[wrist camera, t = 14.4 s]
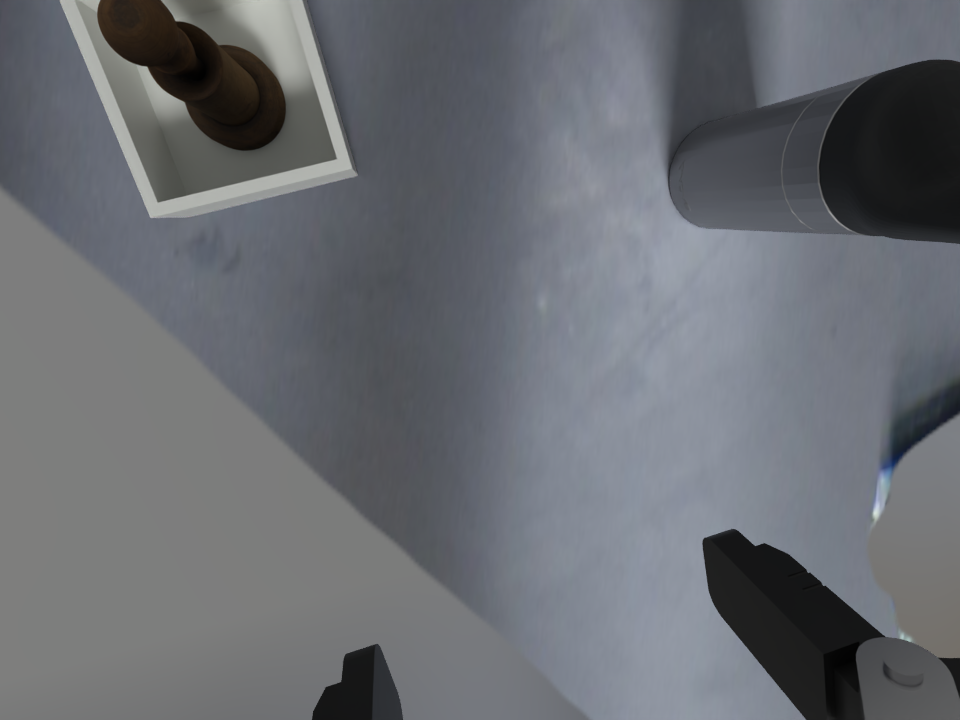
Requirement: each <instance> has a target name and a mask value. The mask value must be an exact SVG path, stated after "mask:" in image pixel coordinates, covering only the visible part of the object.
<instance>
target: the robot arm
mask: <svg viewBox="0 0 960 720" xmlns="http://www.w3.org/2000/svg"><path fill="white" fill-rule="evenodd" d="M669 182H670V192H671V196H672V200H673V202H674V204H675V206H676V209H677V210H678V211H679V212H680V214H681V215H682V216H683V217H684V218H685V219H686V220H687V221H689V222H690V223H692V224H694V225H696V226H698V227H703V228H708V229H730V230H748V231H772V232H795V233H818V234H846V235H869V236H885V237H889V238H894V239H903V240H916V241H932V242H946V243H956V244H960V62H957V61H952V60H927V61H922V62H917V63H912V64H909V65H905V66H902V67H899V68H895V69H892V70H888V71H885V72H881V73H878V74H874V75H871V76H867V77H864V78H860V79H857V80H854V81H850V82H847V83H844V84H841V85H837V86H834V87H830V88H827V89H823V90H820V91H816V92H813V93H810V94H806V95H803V96H799V97H796V98H792V99H789V100H785V101H782V102H778V103H775V104H771V105H768V106H765V107H761V108H758V109H754V110H751V111H747V112H744V113H740V114H736V115H733V116H729V117H726V118H723V119H719V120H716V121H712V122H709V123H706V124H704V125H702V126H700V127H698V128H697V129H695V130H694V131H693V132H692V133H690V134H689V135H688V136H687V137H686V138H685V140H684V141H683V142H682V143H681V145H680V146H679V148H678V150H677V152H676V153H675V156H674V159H673V162H672V164H671V170H670V176H669ZM703 552H704V560H705V567H706V575H707V582H708V589H709V593H710V596H711V599H712V601H713V603H714V605H715V607H716V609H717V611H718V612H719V614H720V615H721V617H722V618H723V619H724V620H725V621H726V623H727V624H728V625H729V626H730V628H731V629H732V630H733V631H734V632H735V634H736V635H737V636H738V637H739V638H740V640H741V641H742V642H743V643H744V645H745V646H746V647H747V648H748V649H749V651H750V652H751V653H752V654H753V656H754V657H755V658H756V659H757V660H758V662H759V663H760V664H761V665H762V666H763V668H764V669H765V670H766V671H767V673H768V674H769V675H770V676H771V677H772V679H773V680H774V681H775V682H776V683H777V685H778V686H779V687H780V688H781V690H782V691H783V692H784V693H785V694H786V696H787V697H788V698H789V699H790V700H791V702H792V703H793V704H794V705H795V707H796V708H797V709H798V710H799V711H800V713H801V714H802V715H803V716H804V718H805V719H806V720H960V658H938V657H936V656H935V655H934V654H932V653H931V652H929V651H928V650H926V649H924V648H922V647H921V646H919V645H916V644H914V643H911V642H908V641H905V640H902V639H897V638H889V637H885V636H884V635H882V634H881V633H880V632H879V631H878V630H877V629H875V628H874V627H873V626H872V625H871V624H870V623H868V622H867V621H866V620H865V619H864V618H862V617H861V616H860V615H859V614H858V613H857V612H855V611H854V610H853V609H852V608H851V607H850V606H848V605H847V604H846V603H845V602H844V601H843V600H841V599H840V598H839V597H838V596H837V595H836V594H834V593H833V592H832V591H831V590H830V589H829V588H827V587H826V586H823V585H822V583H821V582H820V581H819V580H818V579H817V578H816V577H814V576H813V575H812V574H811V573H808V572H807V570H806V569H805V568H804V567H803V566H802V565H800V564H799V563H798V562H797V561H796V560H795V559H793V558H792V557H791V556H790V555H789V554H787V553H785V552H783V551H780V550H778V549H776V548H774V547H772V546H770V545H767V544H765V543H764V544H761V545H758V546H754V545H753V544H752V543H751V542H750V541H749V540H748V539H746V538H745V537H744V536H743V535H742V534H741V533H740V532H739V531H737V530H735V529H731V530H727V531H724V532H721V533H718V534H715V535H712V536H709V537H706V538H704V539H703ZM312 720H403V716H402V709H401V703H400V699H399V695H398V692H397V689H396V687H395V684H394V682H393V679H392V676H391V674H390V671H389V668H388V666H387V663H386V660H385V658H384V655H383V653H382V650H381V648H380V646H379V645H378V644H375V645H372V646H369V647H366V648H363V649H360V650H356V651H354V652H350V653H347V654H346V655H345V657H344V662H343V671H342V680H341V682H340V683H337V684H334V685H331V686H328V687H326V688H325V690H324V692H323V694H322V696H321V698H320V700H319V701H318V703H317V705H316V707H315V709H314V711H313V717H312Z"/></svg>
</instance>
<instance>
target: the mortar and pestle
mask: <svg viewBox="0 0 960 720" xmlns="http://www.w3.org/2000/svg"><path fill="white" fill-rule="evenodd" d="M97 19H98V24H99V28H100V30H101V33H102V35H103V37H104V38H105V40H106V42H107V43H108V44H109V46H110V47H111V48H112V49H113V50H114V51H115V52H116V53H117V54H118V55H120V56H121V57H122V58H124V59H125V60H127V61H129V62H131V63H133V64H136V65H139V66H145V67H148V70H149V72H150V74H151V76H152V77H153V79H154V80H155V82H156V83H157V84H158V85H159V86H160V87H161V88H162V89H163V90H164V91H166V92H167V93H168V94H170V95H172V96H173V97H175V98H177V99H179V100H181V101H183V102H185V105H186V108H187V111H188V113H189V115H190V117H191V118H192V120H193V122H194V123H195V124H196V126H197V127H198V128H199V129H200V130H201V131H202V132H203V133H204V134H205V135H207V136H208V137H209V138H211V139H212V140H214V141H216V142H218V143H220V144H222V145H224V146H226V147H229V148H232V149H235V150H241V151H249V150H255V149H259V148H261V147H264V146H266V145H267V144H269V143H270V142H271V141H273V140H274V139H275V138H276V136H277V135H278V134H279V132H280V131H281V129H282V127H283V124H284V120H285V115H286V102H285V97H284V93H283V90H282V87H281V85H280V83H279V81H278V79H277V78H276V76H275V75H274V73H273V72H272V71H271V70H270V69H269V68H268V67H267V66H266V65H265V63H264V62H263V61H262V60H260V59H259V58H258V57H257V56H255V55H254V54H253V53H251V52H249V51H247V50H245V49H243V48H240V47H237V46H233V45H218V44H217V43H216V42H215V41H214V40H213V39H212V38H211V37H210V36H209V35H208V34H207V33H206V32H205V31H203V30H202V29H200V28H199V27H197V26H195V25H193V24H190V23H187V22H181V21H175V19H174V17H173V15H172V14H171V12H170V11H169V9H168V8H167V7H166V6H165V4H164V3H163V2H162V1H161V0H100V2H99V5H98V10H97Z"/></svg>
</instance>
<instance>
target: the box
mask: <svg viewBox="0 0 960 720" xmlns="http://www.w3.org/2000/svg"><path fill="white" fill-rule="evenodd" d="M161 1H162V2H163V3H164V4H165V6H166V7H167V8H168V9H169V11H170V12H171V14H172V15H173V17H174V19H175V21H181V22H187V23H190V24H193V25H195V26H197V27H199V28H200V29H202V30H203V31H205V32H206V33H207V34H208V35H209V36H210V37H211V38H212V39H213V40H214V41H215V42H216V43H217V44H218V45H233V46H237V47H240V48H243V49H245V50H247V51H249V52H251V53H253V54H254V55H255V56H257V57H258V58H259V59H260V60H262V61H263V62H264V63H265V65H266V66H267V67H268V68H269V69H270V70H271V71H272V72H273V73H274V75H275V76H276V78H277V79H278V81H279V83H280V85H281V87H282V90H283V93H284V97H285V102H286V115H285V120H284V124H283V127H282V129H281V131H280V132H279V134H278V135H277V136H276V138H275V139H274V140H273V141H271V142H270V143H269V144H267V145H266V146H264V147H261V148H259V149H255V150H249V151H241V150H235V149H232V148H229V147H226V146H224V145H222V144H220V143H218V142H216V141H214V140H212V139H211V138H209V137H208V136H207V135H205V134H204V133H203V132H202V131H201V130H200V129H199V128H198V127H197V126H196V124H195V123H194V122H193V120H192V118H191V117H190V115H189V113H188V111H187V108H186V105H185V102H183V101H181V100H179V99H177V98H175V97H173V96H172V95H170V94H168V93H167V92H166V91H164V90H163V89H162V88H161V87H160V86H159V85H158V84H157V83H156V82H155V80H154V79H153V77H152V76H151V74H150V72H149V70H148V67H145V66H139V65H136V64H133V63H131V62H129V61H127V60H125V59H124V58H122V57H121V56H120V55H118V54H117V53H116V52H115V51H114V50H113V49H112V48H111V47H110V46H109V44H108V43H107V42H106V40H105V38H104V37H103V35H102V33H101V30H100V28H99V24H98V19H97V10H98V5H99V2H100V0H60V3H61V5H62V7H63V10H64V12H65V15H66V17H67V19H68V22H69V24H70V27H71V29H72V31H73V34H74V36H75V38H76V41H77V43H78V46H79V48H80V50H81V53H82V55H83V58H84V60H85V62H86V65H87V67H88V70H89V72H90V74H91V77H92V79H93V81H94V84H95V86H96V89H97V91H98V93H99V96H100V98H101V101H102V103H103V105H104V108H105V110H106V113H107V115H108V117H109V120H110V122H111V125H112V127H113V129H114V132H115V134H116V136H117V139H118V141H119V144H120V146H121V148H122V151H123V153H124V156H125V158H126V160H127V163H128V165H129V168H130V170H131V172H132V175H133V177H134V180H135V182H136V184H137V187H138V189H139V191H140V194H141V196H142V199H143V201H144V203H145V206H146V208H147V211H148V213H149V215H150V218H180V217H193V216H197V215H201V214H205V213H209V212H213V211H217V210H221V209H225V208H229V207H233V206H237V205H242V204H246V203H250V202H254V201H258V200H262V199H266V198H270V197H274V196H278V195H282V194H286V193H290V192H294V191H298V190H302V189H307V188H311V187H315V186H319V185H323V184H327V183H331V182H335V181H339V180H343V179H347V178H351V177H355V176H358V173H357V170H356V166H355V163H354V159H353V156H352V153H351V149H350V146H349V143H348V139H347V136H346V132H345V129H344V126H343V122H342V119H341V115H340V112H339V109H338V105H337V102H336V98H335V95H334V92H333V88H332V85H331V82H330V78H329V75H328V71H327V68H326V65H325V61H324V58H323V54H322V51H321V48H320V44H319V41H318V37H317V34H316V31H315V27H314V24H313V20H312V17H311V14H310V10H309V7H308V4H307V0H161Z"/></svg>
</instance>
